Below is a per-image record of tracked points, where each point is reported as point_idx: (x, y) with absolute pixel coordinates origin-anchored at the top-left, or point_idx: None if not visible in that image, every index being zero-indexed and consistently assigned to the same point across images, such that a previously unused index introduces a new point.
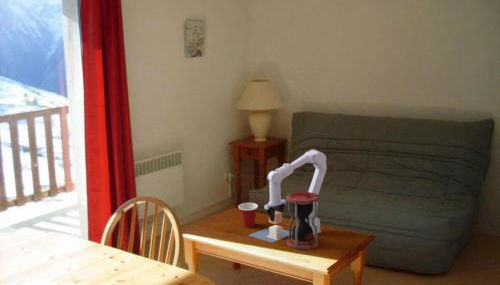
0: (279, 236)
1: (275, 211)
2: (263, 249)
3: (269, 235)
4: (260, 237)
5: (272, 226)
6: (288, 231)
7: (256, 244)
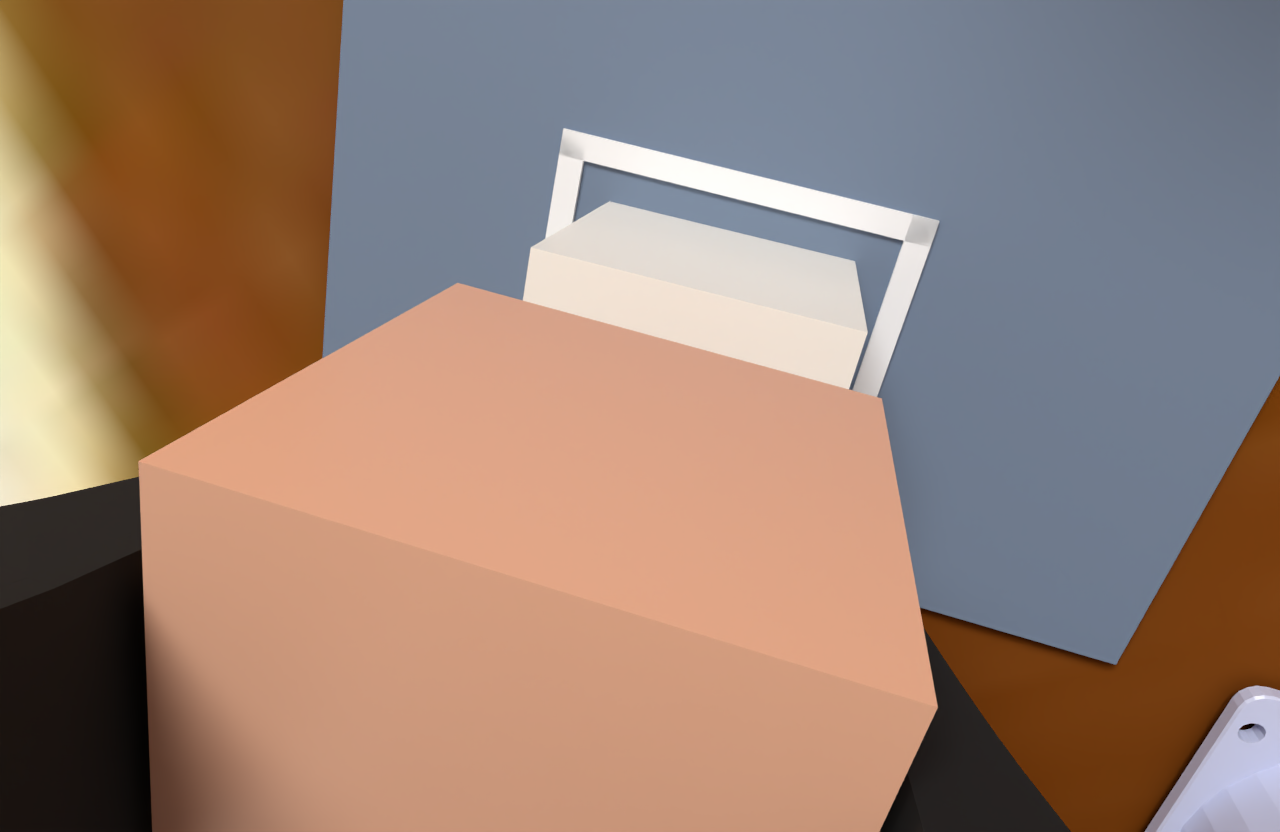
0: None
1: (754, 787)
2: (11, 421)
3: (601, 211)
4: (436, 19)
5: (669, 309)
6: (1185, 482)
7: (88, 169)
